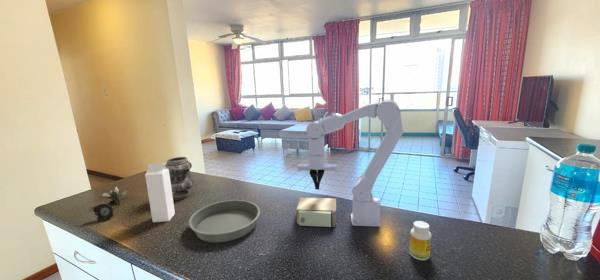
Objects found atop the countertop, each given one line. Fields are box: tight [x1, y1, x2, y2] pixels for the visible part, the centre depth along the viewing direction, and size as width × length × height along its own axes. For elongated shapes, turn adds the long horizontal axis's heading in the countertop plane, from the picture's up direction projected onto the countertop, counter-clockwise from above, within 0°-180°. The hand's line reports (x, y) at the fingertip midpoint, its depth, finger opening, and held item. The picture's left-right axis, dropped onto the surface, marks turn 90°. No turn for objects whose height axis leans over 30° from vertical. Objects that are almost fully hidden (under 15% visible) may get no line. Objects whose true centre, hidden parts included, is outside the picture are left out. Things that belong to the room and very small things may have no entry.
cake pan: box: [188, 199, 261, 243], centre depth 91 cm, size 25×25×4 cm
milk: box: [144, 162, 176, 223], centre depth 96 cm, size 6×6×22 cm
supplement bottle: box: [408, 220, 432, 261], centre depth 71 cm, size 5×5×10 cm
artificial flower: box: [92, 186, 128, 221], centre depth 108 cm, size 9×22×10 cm, turn 17°
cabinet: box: [296, 197, 337, 226], centre depth 94 cm, size 14×10×6 cm
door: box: [298, 211, 336, 228], centre depth 87 cm, size 12×3×6 cm, turn 82°
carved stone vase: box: [165, 156, 195, 201], centre depth 117 cm, size 12×12×18 cm
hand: (317, 188), depth 95 cm, fingers closed
